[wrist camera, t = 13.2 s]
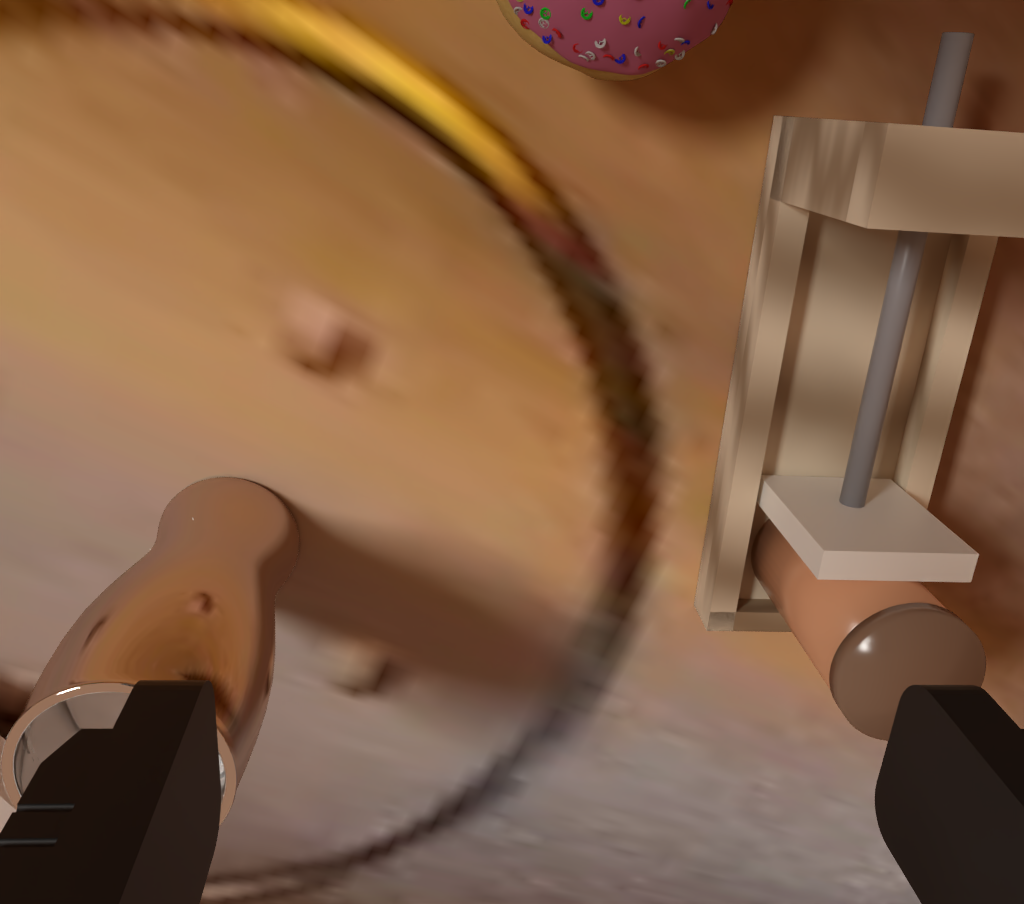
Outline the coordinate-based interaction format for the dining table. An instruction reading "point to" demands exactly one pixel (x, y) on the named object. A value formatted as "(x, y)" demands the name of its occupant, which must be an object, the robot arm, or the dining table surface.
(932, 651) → the jar
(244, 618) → the beer glass
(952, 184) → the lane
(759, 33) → the dining table surface
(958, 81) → the pusher
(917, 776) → the robot arm
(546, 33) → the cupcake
